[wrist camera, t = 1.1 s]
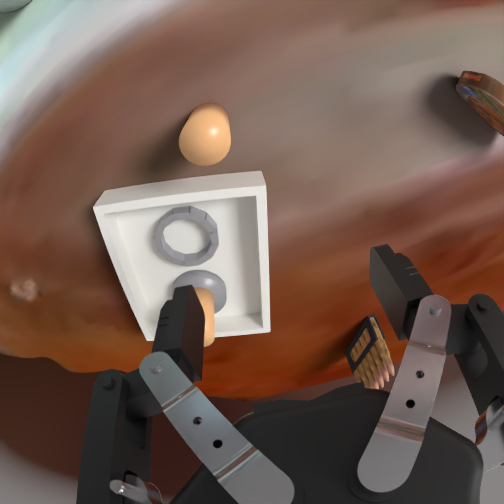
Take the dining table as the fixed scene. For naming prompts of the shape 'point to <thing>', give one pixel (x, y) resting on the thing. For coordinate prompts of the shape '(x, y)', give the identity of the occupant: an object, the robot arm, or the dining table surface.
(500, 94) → the tin
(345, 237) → the dining table surface
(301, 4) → the dining table surface
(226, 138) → the tan rounded sausage
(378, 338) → the ammunition clip
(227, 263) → the housing
